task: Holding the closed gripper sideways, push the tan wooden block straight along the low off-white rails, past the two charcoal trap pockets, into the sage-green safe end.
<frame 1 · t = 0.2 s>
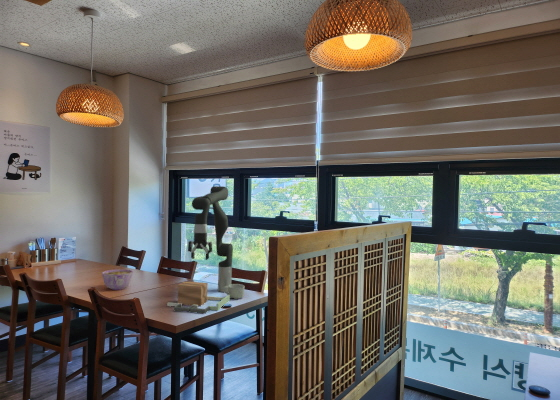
hand: (199, 259, 227), 29 cm above the table, tool pointing down, fingers open, 8 cm apart
bowl of food: (117, 288, 269), on the table
lane: (205, 304, 236), on the table
block: (192, 303, 238), on the table
teacup: (233, 298, 252), on the table
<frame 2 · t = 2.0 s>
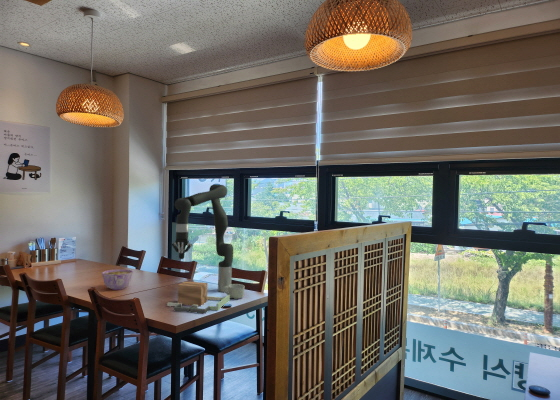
hand: (181, 259, 238), 27 cm above the table, tool pointing down, fingers closed
nothing on the table moved.
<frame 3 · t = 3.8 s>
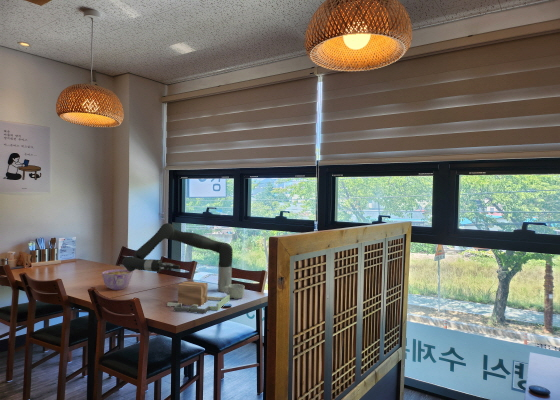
hand: (179, 267, 239), 22 cm above the table, tool horizontal, fingers closed
nothing on the table moved.
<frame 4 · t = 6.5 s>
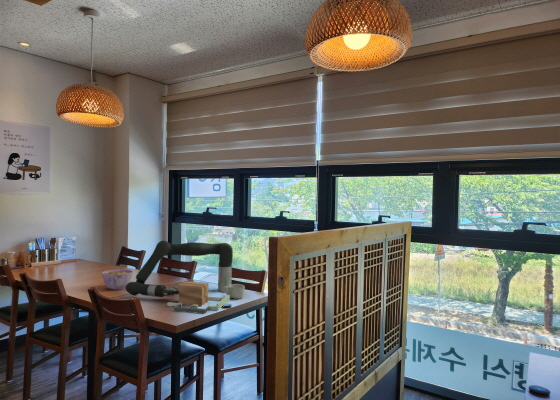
hand: (182, 292, 239), 6 cm above the table, tool horizontal, fingers closed
block: (193, 303, 238), on the table, touching gripper
everything else where it was.
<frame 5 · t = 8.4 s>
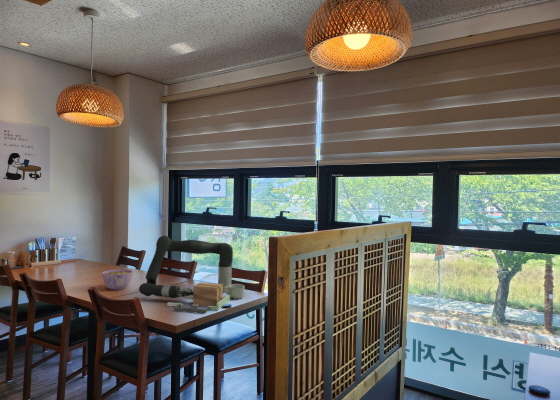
hand: (196, 293, 237), 6 cm above the table, tool horizontal, fingers closed
block: (207, 304, 236), on the table, touching gripper
everything else where it was.
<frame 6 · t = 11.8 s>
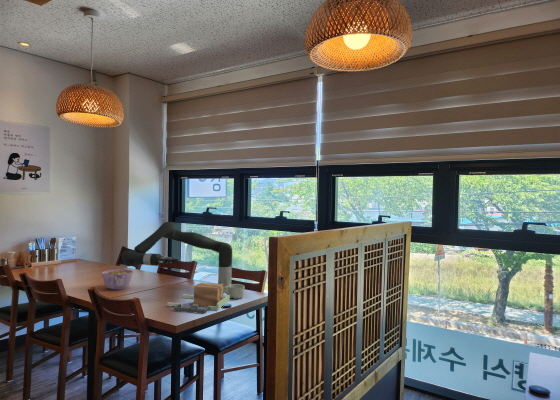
hand: (178, 260, 239), 26 cm above the table, tool horizontal, fingers closed
block: (208, 304, 236), on the table
everything else where it was.
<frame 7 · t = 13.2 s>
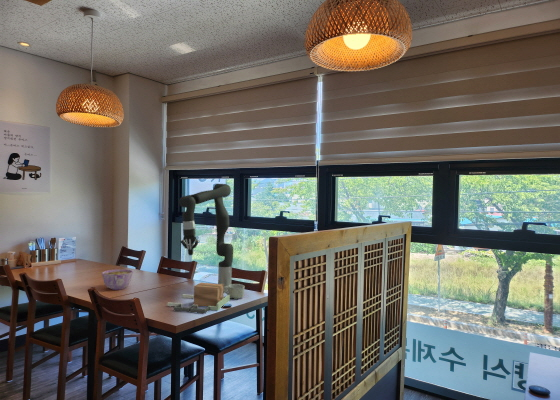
hand: (190, 255, 243), 29 cm above the table, tool pointing down, fingers closed
nothing on the table moved.
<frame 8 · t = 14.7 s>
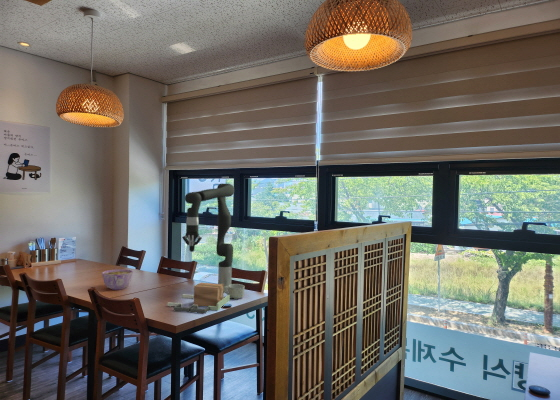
hand: (191, 251, 243), 31 cm above the table, tool pointing down, fingers closed
nothing on the table moved.
at the end: block inside the target area on the lane (0.2 cm from its centre), point 0.0 cm above the lane's base; block tilted 0° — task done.
